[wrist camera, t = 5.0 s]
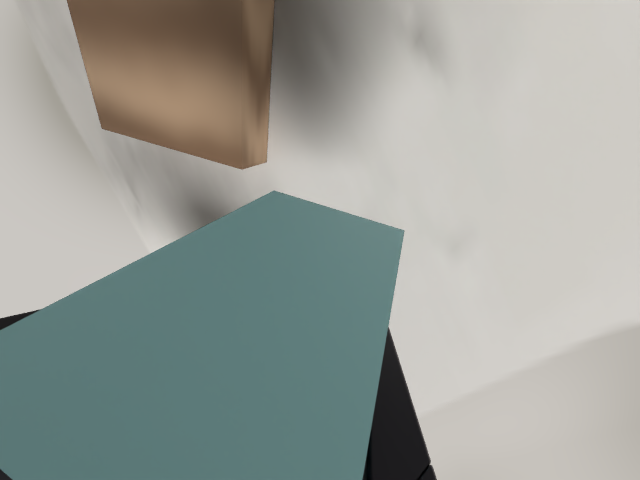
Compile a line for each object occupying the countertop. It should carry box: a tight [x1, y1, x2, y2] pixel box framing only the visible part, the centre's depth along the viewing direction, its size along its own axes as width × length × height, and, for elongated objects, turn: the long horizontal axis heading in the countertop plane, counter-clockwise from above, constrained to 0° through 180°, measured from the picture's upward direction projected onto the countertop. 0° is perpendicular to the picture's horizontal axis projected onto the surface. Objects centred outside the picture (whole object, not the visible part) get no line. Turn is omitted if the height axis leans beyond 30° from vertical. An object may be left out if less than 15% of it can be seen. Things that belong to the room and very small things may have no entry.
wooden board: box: [67, 0, 274, 169], centre depth 15 cm, size 13×13×3 cm
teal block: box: [0, 191, 404, 480], centre depth 7 cm, size 5×5×8 cm
